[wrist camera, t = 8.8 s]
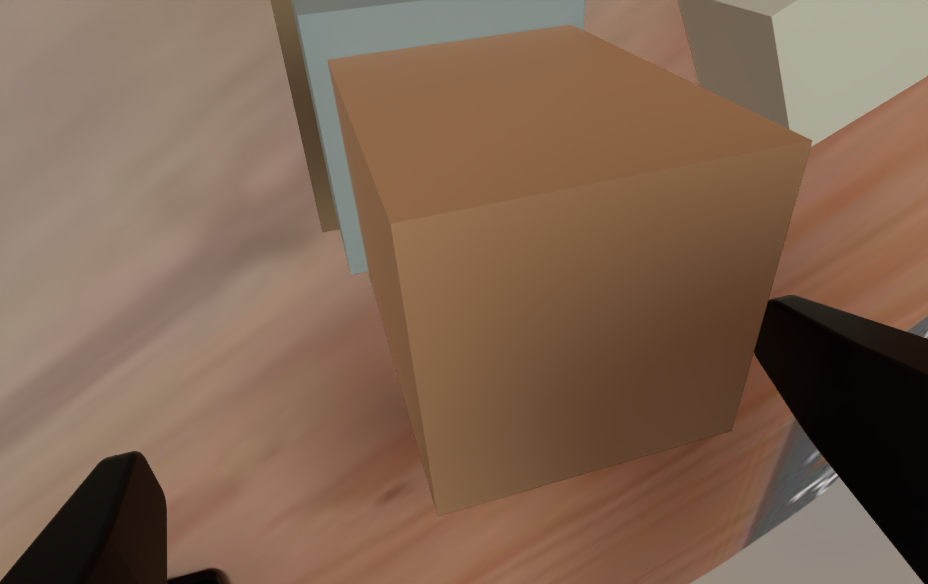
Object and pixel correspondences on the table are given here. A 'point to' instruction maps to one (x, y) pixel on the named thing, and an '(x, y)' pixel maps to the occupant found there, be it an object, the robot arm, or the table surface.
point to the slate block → (390, 28)
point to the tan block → (560, 250)
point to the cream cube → (808, 56)
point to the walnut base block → (305, 112)
